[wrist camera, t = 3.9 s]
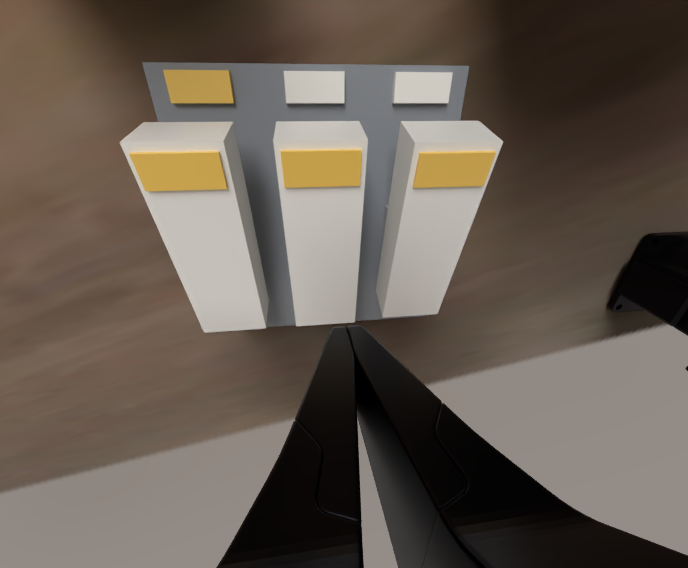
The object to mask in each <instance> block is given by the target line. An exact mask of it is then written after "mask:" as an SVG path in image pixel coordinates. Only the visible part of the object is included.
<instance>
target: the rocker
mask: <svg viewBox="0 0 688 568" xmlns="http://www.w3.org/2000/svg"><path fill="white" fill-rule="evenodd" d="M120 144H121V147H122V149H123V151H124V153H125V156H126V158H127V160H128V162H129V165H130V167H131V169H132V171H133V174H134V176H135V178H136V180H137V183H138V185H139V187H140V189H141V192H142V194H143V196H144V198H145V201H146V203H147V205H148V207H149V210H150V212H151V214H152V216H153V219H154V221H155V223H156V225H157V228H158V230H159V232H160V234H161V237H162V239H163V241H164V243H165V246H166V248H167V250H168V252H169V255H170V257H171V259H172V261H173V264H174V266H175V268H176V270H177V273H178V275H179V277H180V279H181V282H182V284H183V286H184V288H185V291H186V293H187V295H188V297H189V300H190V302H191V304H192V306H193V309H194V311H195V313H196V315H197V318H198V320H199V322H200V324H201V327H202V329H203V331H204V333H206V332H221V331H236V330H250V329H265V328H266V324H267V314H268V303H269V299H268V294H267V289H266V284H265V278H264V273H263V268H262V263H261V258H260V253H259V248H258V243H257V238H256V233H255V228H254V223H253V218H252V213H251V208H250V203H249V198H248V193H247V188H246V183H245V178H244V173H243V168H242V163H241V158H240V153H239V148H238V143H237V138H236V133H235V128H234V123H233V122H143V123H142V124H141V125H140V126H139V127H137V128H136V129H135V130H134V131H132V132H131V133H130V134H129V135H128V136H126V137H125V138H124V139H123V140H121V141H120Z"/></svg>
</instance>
